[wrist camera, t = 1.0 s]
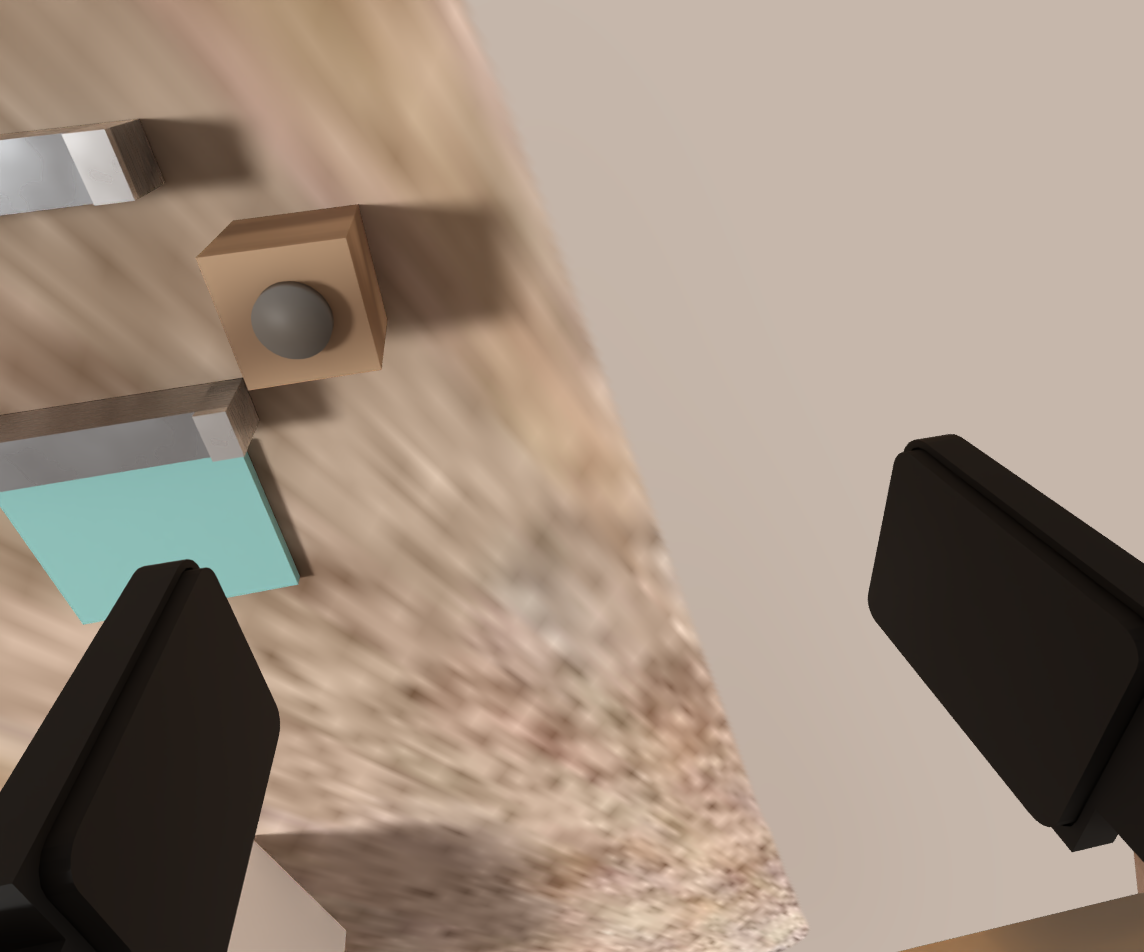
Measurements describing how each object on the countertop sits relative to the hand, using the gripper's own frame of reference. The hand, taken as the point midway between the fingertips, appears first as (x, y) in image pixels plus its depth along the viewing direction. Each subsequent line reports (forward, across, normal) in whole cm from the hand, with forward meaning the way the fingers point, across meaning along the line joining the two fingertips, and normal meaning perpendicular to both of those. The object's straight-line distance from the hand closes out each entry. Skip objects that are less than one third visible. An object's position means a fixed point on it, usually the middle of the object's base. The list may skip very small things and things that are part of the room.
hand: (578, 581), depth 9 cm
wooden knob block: (+20, +7, 0) cm, 22 cm away
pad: (+21, +17, +11) cm, 29 cm away
